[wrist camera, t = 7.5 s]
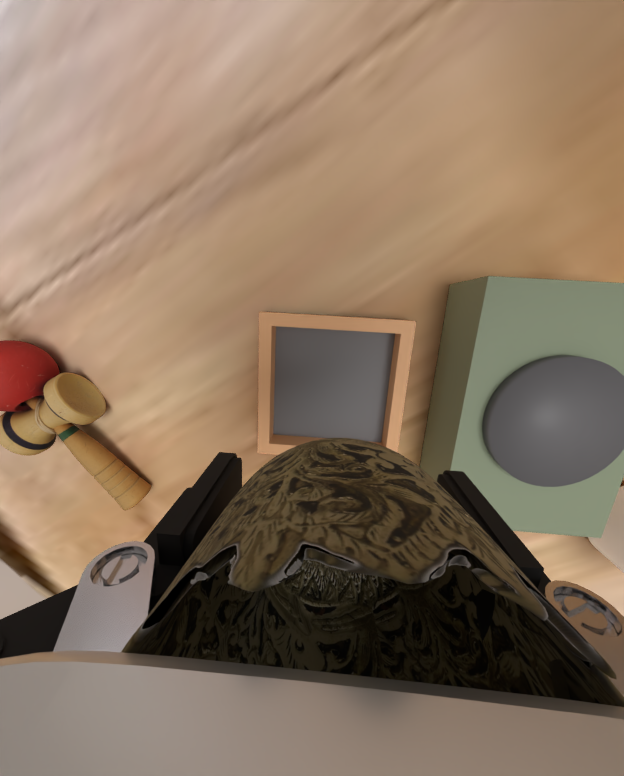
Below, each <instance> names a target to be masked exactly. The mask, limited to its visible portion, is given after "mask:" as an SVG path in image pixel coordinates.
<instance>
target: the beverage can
mask: <svg viewBox="0 0 624 776" xmlns="http://www.w3.org/2000/svg"><path fill="white" fill-rule="evenodd" d="M588 539H589V541H590V542H591V544H592V545H593V546H594V547H595V548H596V549H597V550H598V551H600V552H601V553H602V554H603V555H604V556H605V557H606V558H607V559H609V560H610V561H611V562H612V563H613V564H614V565H615V566H616V567H618V568H619V569H620V570H621V571H622V572H623V573H624V486H621V487H620V488H619V491H618V493H617V496H616V499H615V502H614V504H613V507H612V510H611V512H610V515H609V518H608V521H607V523H606V526H605V529H604V532H603V534H602V537H601V538H593V537H588Z"/></svg>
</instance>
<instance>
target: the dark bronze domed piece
mask: <svg viewBox="0 0 624 776" xmlns="http://www.w3.org/2000/svg"><path fill="white" fill-rule="evenodd" d="M482 589H484V590H486V591H489V592H491V593H493V594H495V607H494V612H493V617H492V621H491V624H490V627H489V629H488V632H487V634H486V636H485V638H484V640H483V642H482V639H481V634H480V629H479V624H478V619H477V614H476V595H477V594H478V593H479V592H480V591H481V590H482ZM146 624H148V625H149V626H150V627H149V628H146V629H144V627H145V626H146ZM142 647H143V648H142ZM141 648H142V649H141ZM143 649H146V650H147V651H148V652H149V655H160V656H172V657H184V658H193V659H203V660H213V661H223V662H233V663H243V664H252V665H262V666H272V667H282V668H292V669H301V670H310V671H320V672H329V673H338V674H348V675H357V676H366V677H375V678H384V679H394V680H403V681H412V682H421V683H430V684H439V685H448V686H456V687H465V688H474V689H482V690H491V691H500V692H508V693H517V694H526V695H534V696H543V697H552V698H556V697H555V692H554V687H553V682H552V677H551V672H550V667H549V662H551V661H552V660H554V659H561V660H562V661H563V663H564V664H565V665H566V666H567V668H568V669H569V670H570V672H571V673H572V674H573V675H574V677H575V678H576V679H577V680H578V681H579V683H580V684H581V685H582V686H583V687H584V689H585V690H586V691H587V692H588V694H589V695H590V696H591V697H592V698H593V699H594V697H595V698H596V699H597V701H599V702H600V703H601V704H604V705H612V706H619V707H624V697H623V695H622V694H621V693H620V691H619V690H618V689H617V688H616V687H615V685H614V684H613V683H612V681H611V680H610V678H614V679H617V677H616V674H615V672H614V671H613V669H612V668H611V666H610V665H609V664H608V663H607V661H606V660H605V659H604V658H603V657H602V656H601V655H600V654H599V653H598V651H597V650H596V649H595V648H594V647H593V646H592V645H591V644H590V643H589V642H588V641H587V640H586V639H585V638H584V637H583V636H582V635H581V634H580V633H579V632H578V631H577V630H576V629H575V628H574V627H573V626H572V625H571V624H570V623H569V622H568V621H567V620H566V619H565V618H564V617H563V616H562V615H561V614H560V613H559V612H558V611H557V609H556V608H555V607H554V606H553V605H552V604H551V603H550V602H549V601H548V600H547V599H546V597H545V596H544V595H543V594H542V593H541V592H540V591H539V590H538V589H537V588H536V586H535V585H534V584H533V583H532V582H531V581H530V580H529V579H528V578H527V577H526V575H525V574H524V573H523V572H522V571H521V570H520V569H519V568H518V567H517V566H516V564H515V563H514V562H513V561H512V560H511V559H510V558H509V557H508V556H507V555H506V554H505V552H504V551H503V550H502V549H501V548H500V547H499V546H498V545H497V544H496V543H495V542H494V541H493V539H492V538H491V537H490V536H489V535H488V534H487V533H486V532H485V531H484V530H483V529H482V528H481V527H480V526H479V524H478V523H477V522H476V521H475V520H474V519H473V518H472V517H471V516H470V515H469V514H468V513H467V512H466V511H465V510H464V509H463V508H462V506H461V505H460V504H459V503H458V502H457V501H456V500H455V499H454V498H453V497H452V496H451V495H450V494H449V493H448V492H447V491H446V490H445V489H444V488H443V487H442V486H441V485H440V484H439V483H438V482H437V481H435V480H434V479H433V478H432V477H431V476H430V475H429V474H427V473H426V472H425V471H424V470H422V469H421V468H420V467H419V466H417V465H416V464H415V463H413V462H412V461H410V460H408V459H407V458H405V457H404V456H402V455H400V454H399V453H397V452H395V451H393V450H391V449H389V448H387V447H384V446H381V445H378V444H376V443H372V442H368V441H363V440H359V439H351V438H327V439H320V440H315V441H311V442H307V443H304V444H301V445H298V446H296V447H293V448H291V449H289V450H287V451H285V452H283V453H281V454H279V455H278V456H276V457H275V458H273V459H272V460H271V461H269V462H268V463H267V464H265V465H264V466H263V467H262V468H261V469H260V470H258V471H257V472H256V473H255V474H254V475H253V476H252V477H251V478H250V479H249V480H248V481H247V482H246V484H245V485H244V486H243V487H242V488H241V489H240V490H239V492H238V493H237V494H236V495H235V496H234V498H233V499H232V500H231V501H230V503H229V504H228V505H227V507H226V508H225V509H224V510H223V512H222V513H221V515H220V516H219V517H218V519H217V520H216V521H215V523H214V524H213V526H212V527H211V528H210V530H209V531H208V532H207V534H206V535H205V537H204V538H203V539H202V541H201V542H200V544H199V545H198V546H197V548H196V549H195V551H194V552H193V553H192V555H191V556H190V558H189V559H188V560H187V562H186V563H185V565H184V566H183V567H182V569H181V570H180V572H179V573H178V574H177V576H176V577H175V579H174V580H173V582H172V583H171V584H170V586H169V587H168V589H167V590H166V591H165V593H164V594H163V596H162V597H161V598H160V600H159V601H158V603H157V604H156V606H155V607H154V608H153V610H152V611H151V612H150V614H149V615H148V617H147V618H146V619H145V621H144V622H143V623H142V625H141V626H140V627H139V628H138V629H137V631H136V632H135V633H134V634H133V636H132V637H131V638H130V640H129V641H128V642H127V644H126V645H125V647H124V648H123V650H122V651H121V652H123V653H135V654H138V652H139V651H140V650H141V651H140V653H139V654H141V652H142V651H143ZM608 676H609V677H610V678H609V677H608ZM594 700H595V699H594Z"/></svg>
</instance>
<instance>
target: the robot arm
mask: <svg viewBox="0 0 624 776" xmlns="http://www.w3.org/2000/svg"><path fill="white" fill-rule="evenodd" d="M437 482H438V483H439V484H440V485H441V486H442V487H443V488H444V489H445V490H446V491H447V492H448V493H449V494H450V495H451V496H452V497H453V498H454V499H455V500H456V501H457V502H458V503H459V504H460V505H461V506H462V508H463V509H464V510H465V511H466V512H467V513H468V514H469V515H470V516H471V517H472V518H473V519H474V520H475V521H476V522H477V523H478V524H479V526H480V527H481V528H482V529H483V530H484V531H485V532H486V533H487V534H488V535H489V536H490V537H491V538H492V539H493V541H494V542H495V543H496V544H497V545H498V546H499V547H500V548H501V549H502V550H503V551H504V552H505V554H506V555H507V556H508V557H509V558H510V559H511V560H512V561H513V562H514V563H515V564H516V566H517V567H518V568H519V569H520V570H521V571H522V572H523V573H524V574H525V575H526V577H527V578H528V579H529V580H530V581H531V582H532V583H533V584H534V585H535V586H536V588H537V589H538V590H539V591H540V592H541V593H542V594H543V595H544V596H545V597H546V599H547V600H548V601H549V602H550V603H551V604H552V605H553V606H554V607H555V608H556V609H557V611H558V612H559V613H560V614H561V615H562V616H563V617H564V618H565V619H566V620H567V621H568V622H569V623H570V624H571V625H572V626H573V627H574V628H575V629H576V630H577V631H578V632H579V633H580V634H581V635H582V636H583V637H584V638H585V639H586V640H587V641H588V642H589V643H590V644H591V645H592V646H593V647H594V648H595V649H596V650H597V651H598V653H599V654H600V655H601V656H602V657H603V658H604V659H605V660H606V661H607V663H608V664H609V665H610V666H611V668H612V669H613V671H614V672H615V674H616V677H617V679H614V678H610V677H609V676H608V677H609V678H610V680H611V681H612V683H613V684H614V685H615V687H616V688H617V689H618V690H619V691H620V693H621V694H622V695H623V697H624V617H623V616H622V615H621V614H620V613H619V612H618V611H617V610H616V609H615V608H614V607H613V606H612V605H611V604H609V603H608V602H607V601H605V600H604V599H603V598H602V597H600V596H598V595H597V594H595V593H593V592H592V591H590V590H588V589H586V588H584V587H581V586H579V585H577V584H574V583H570V582H567V581H557V580H556V581H552V582H551V581H550V579H549V578H548V577H547V576H546V574H545V573H544V572H543V570H544V568H543V567H542V566H541V564H540V563H539V562H538V561H537V560H536V558H535V557H534V556H533V555H532V554H531V552H530V551H529V550H528V549H527V548H526V546H525V545H524V544H523V543H522V541H521V540H520V539H519V538H518V537H517V535H516V534H515V533H514V532H513V531H512V529H511V528H510V527H509V526H508V525H507V523H506V522H505V521H504V520H503V519H502V517H501V516H500V515H499V514H498V513H497V511H496V510H495V509H494V508H493V506H492V505H491V504H490V503H489V502H488V500H487V499H486V498H485V497H484V496H483V494H482V493H481V492H480V491H479V490H478V488H477V487H476V486H475V485H474V484H473V482H472V481H471V480H470V479H469V478H468V476H467V475H466V474H465V473H464V472H462V471H450V470H445V471H444V472H443V474H439V475H438V478H437ZM241 488H242V460H241V458H237V455H236V453H223V452H219V453H218V455H217V456H216V457H215V458H214V460H213V461H212V462H211V464H210V465H209V466H208V467H207V469H206V470H205V471H204V473H203V474H202V475H201V477H200V478H199V479H198V480H197V482H196V483H195V484H194V486H193V487H192V488H187V489H186V490H185V491H184V492H183V493H182V495H181V496H180V497H179V498H178V500H177V501H176V502H175V503H174V505H173V506H172V507H171V508H170V510H169V511H168V512H167V513H166V515H165V516H164V517H163V518H162V520H161V521H160V522H159V523H158V525H157V526H156V527H155V528H154V530H153V531H152V532H151V533H150V535H149V536H148V537H147V538H146V540H145V541H144V542H138V541H133V542H125V543H122V544H119V545H115V546H113V547H111V548H109V549H107V550H105V551H103V552H102V553H101V554H99V555H98V556H96V557H95V558H94V559H93V560H92V561H91V562H90V563H89V564H88V565H87V567H86V568H85V570H84V572H83V574H82V576H81V579H80V582H79V584H78V585H76V586H74V587H72V588H70V589H67V590H65V591H63V592H61V593H59V594H56V595H54V596H52V597H50V598H47V599H45V600H43V601H41V602H39V603H36V604H34V605H32V606H30V607H27V608H25V609H23V610H21V611H18V612H16V613H14V614H12V615H10V616H7V617H5V618H3V619H1V620H0V776H624V707H619V706H612V705H604V704H601V703H600V702H599V701H597V699H596V698H595V697H594V699H595V700H594V699H593V698H592V697H591V696H590V695H589V694H588V692H587V691H586V690H585V689H584V687H583V686H582V685H581V684H580V683H579V681H578V680H577V679H576V678H575V677H574V675H573V674H572V673H571V672H570V670H569V669H568V668H567V666H566V665H565V664H564V663H563V661H562V660H561V659H554V660H552V661H551V662H549V667H550V672H551V677H552V682H553V687H554V692H555V697H556V698H552V697H543V696H534V695H526V694H517V693H508V692H500V691H491V690H482V689H474V688H465V687H456V686H448V685H439V684H430V683H421V682H412V681H403V680H394V679H384V678H375V677H366V676H357V675H348V674H338V673H329V672H320V671H310V670H301V669H292V668H282V667H272V666H262V665H252V664H243V663H233V662H223V661H213V660H203V659H193V658H184V657H172V656H160V655H149V652H148V651H147V650H146V649H143V651H142V652H141V654H139V653H140V651H141V650H140V651H139V652H138V654H135V653H123V652H121V651H122V650H123V648H124V647H125V645H126V644H127V642H128V641H129V640H130V638H131V637H132V636H133V634H134V633H135V632H136V631H137V629H138V628H139V627H140V626H141V625H142V623H143V622H144V621H145V619H146V618H147V617H148V615H149V614H150V612H151V611H152V610H153V608H154V607H155V606H156V604H157V603H158V601H159V600H160V598H161V597H162V596H163V594H164V593H165V591H166V590H167V589H168V587H169V586H170V584H171V583H172V582H173V580H174V579H175V577H176V576H177V574H178V573H179V572H180V570H181V569H182V567H183V566H184V565H185V563H186V562H187V560H188V559H189V558H190V556H191V555H192V553H193V552H194V551H195V549H196V548H197V546H198V545H199V544H200V542H201V541H202V539H203V538H204V537H205V535H206V534H207V532H208V531H209V530H210V528H211V527H212V526H213V524H214V523H215V521H216V520H217V519H218V517H219V516H220V515H221V513H222V512H223V510H224V509H225V508H226V507H227V505H228V504H229V503H230V501H231V500H232V499H233V498H234V496H235V495H236V494H237V493H238V492H239V490H240V489H241ZM494 607H495V594H493V593H491V592H489V591H486V590H484V589H482V590H481V591H480V592H479V593H478V594H477V595H476V614H477V619H478V624H479V629H480V634H481V639H482V642H483V640H484V638H485V636H486V634H487V632H488V629H489V627H490V624H491V621H492V617H493V612H494ZM149 627H150V626H149V625H148V624H146V626H145V627H144V629H146V628H149ZM142 648H143V647H142ZM142 648H141V649H142Z"/></svg>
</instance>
